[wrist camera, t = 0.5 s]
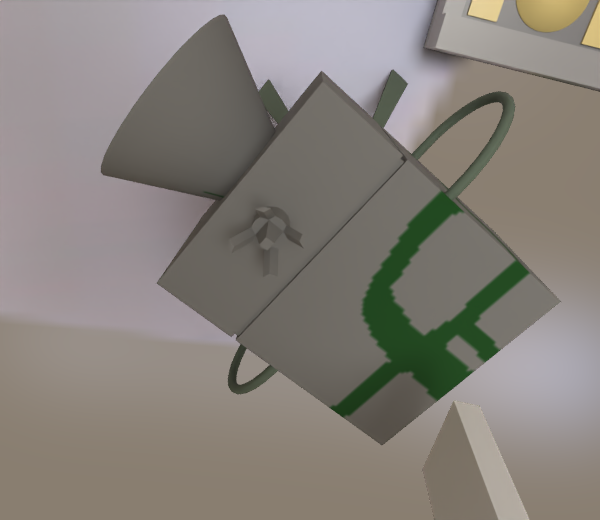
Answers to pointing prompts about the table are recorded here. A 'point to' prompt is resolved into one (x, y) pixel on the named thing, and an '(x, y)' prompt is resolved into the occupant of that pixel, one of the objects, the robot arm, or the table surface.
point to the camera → (326, 235)
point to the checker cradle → (523, 36)
